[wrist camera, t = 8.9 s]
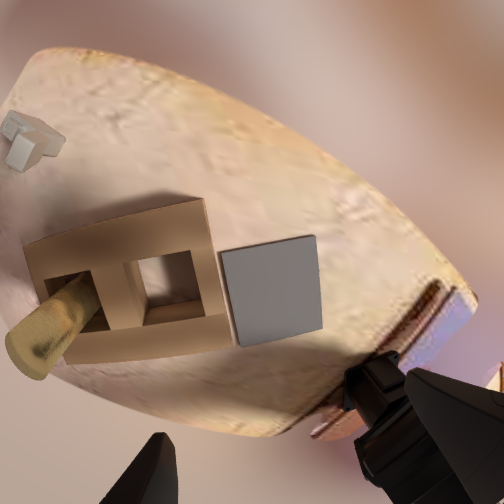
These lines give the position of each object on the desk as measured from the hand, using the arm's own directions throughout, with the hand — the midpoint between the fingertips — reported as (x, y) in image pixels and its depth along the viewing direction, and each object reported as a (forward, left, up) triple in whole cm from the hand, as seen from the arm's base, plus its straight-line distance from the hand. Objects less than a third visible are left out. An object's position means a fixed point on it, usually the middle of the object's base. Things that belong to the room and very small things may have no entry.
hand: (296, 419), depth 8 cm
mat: (-1, -2, -13) cm, 13 cm away
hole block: (+2, +9, -13) cm, 16 cm away
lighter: (+14, +13, -13) cm, 23 cm away
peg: (+2, +12, -13) cm, 18 cm away
